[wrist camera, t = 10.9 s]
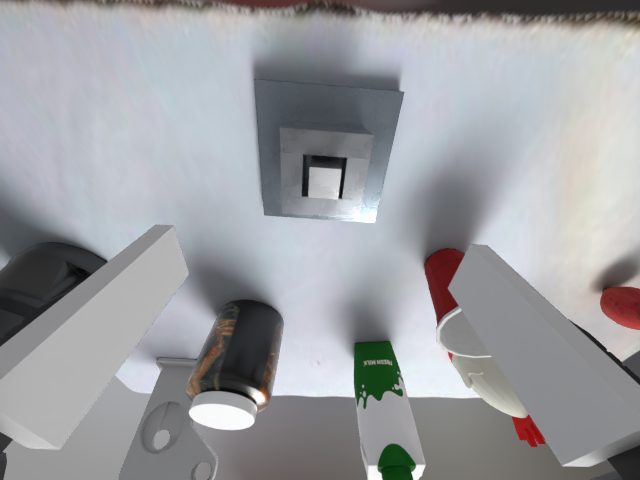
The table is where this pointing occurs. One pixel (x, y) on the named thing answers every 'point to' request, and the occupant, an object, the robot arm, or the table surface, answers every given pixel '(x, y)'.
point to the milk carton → (385, 416)
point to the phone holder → (173, 415)
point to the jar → (236, 366)
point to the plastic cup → (451, 307)
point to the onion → (622, 306)
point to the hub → (323, 142)
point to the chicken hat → (497, 393)
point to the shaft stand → (329, 108)
